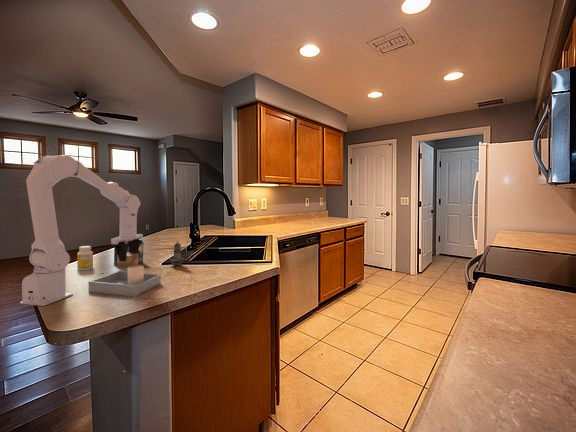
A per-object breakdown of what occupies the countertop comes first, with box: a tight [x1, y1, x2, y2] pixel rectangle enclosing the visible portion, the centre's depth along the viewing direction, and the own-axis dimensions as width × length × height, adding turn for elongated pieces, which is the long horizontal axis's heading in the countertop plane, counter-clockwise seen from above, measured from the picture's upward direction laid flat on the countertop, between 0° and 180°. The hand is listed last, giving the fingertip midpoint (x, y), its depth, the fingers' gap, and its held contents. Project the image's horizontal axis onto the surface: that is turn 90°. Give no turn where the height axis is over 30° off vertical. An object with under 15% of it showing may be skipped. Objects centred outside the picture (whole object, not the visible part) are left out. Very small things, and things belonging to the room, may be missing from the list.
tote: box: [88, 270, 162, 298], centre depth 93 cm, size 13×17×4 cm
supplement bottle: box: [76, 245, 94, 271], centre depth 113 cm, size 5×5×10 cm
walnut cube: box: [117, 253, 139, 270], centre depth 104 cm, size 5×5×5 cm
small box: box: [113, 241, 145, 266], centre depth 124 cm, size 11×6×10 cm, turn 149°
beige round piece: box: [127, 265, 145, 285], centre depth 93 cm, size 5×5×7 cm
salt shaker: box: [169, 241, 185, 269], centre depth 123 cm, size 6×6×12 cm
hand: (127, 259), depth 104 cm, fingers closed on walnut cube, 5 cm apart
